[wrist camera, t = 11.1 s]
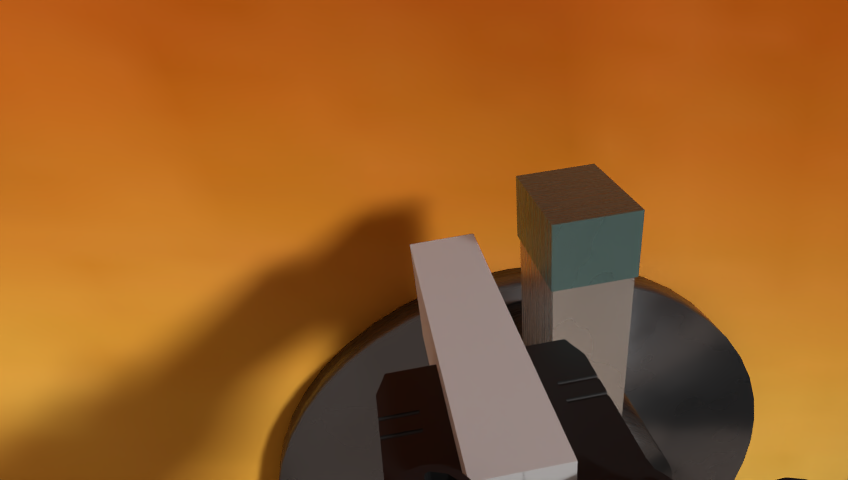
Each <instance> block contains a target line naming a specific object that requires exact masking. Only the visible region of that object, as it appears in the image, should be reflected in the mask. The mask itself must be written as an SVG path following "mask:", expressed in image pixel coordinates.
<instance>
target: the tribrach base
mask: <svg viewBox="0 0 848 480" xmlns="http://www.w3.org/2000/svg"><path fill="white" fill-rule="evenodd" d="M491 274H492V276H493V278H494V280H495V282H496V284H497V287H498V289H499V291H500V293H501V295H502V298H503V300H504V302H505V304H506V305H507V304H510V303H513V302H517V301H521V300H522V294H521V268H514V269H507V270H503V271H499V272H494V273H491ZM424 366H430V365H429V361H428V356H427V352H426V347H425V343H424V339H423V333H422V326H421V319H420V312H419V305H418V299H416V300H414V301H412V302H410V303H408V304H405V305H404V306H402V307H400V308H399V309H397V310H395V311H394V312H392V313H391V314H389V315H387V316H386V317H384V318H382V319H381V320H379V321H377V322H376V323H374V324H373V325H371V326H370V327H369V328H368V329H366V330H365V331H364V332H363V333H361V334H360V335H359V336H357V337H356V338H355V339H354V340H352V341H351V342H350V343H349V344H347V345H346V346H345V347H344V348H343V349H342V350H341V351H340V352H339V353H338V354H337V355H336V356H335V357H334V358H333V359H332V360H331V361H330V362H329V363H328V364H327V365H326V366H325V367H324V368H323V370H322V371H321V372H320V374H319V375H318V376H317V378H316V379H315V380H314V382H313V383H312V384H311V386H310V387H309V388H308V390H307V391H306V392H305V394H304V396H303V398H302V400H301V402H300V403H299V405H298V407H297V409H296V411H295V413H294V414H293V416H292V419H291V422H290V425H289V428H288V431H287V433H286V436H285V439H284V444H283V450H282V457H281V463H280V474H279V480H384V474H383V464H382V454H381V443H380V433H379V423H378V422H379V421H378V412H377V402H376V394H377V391H378V389H379V386H380V384H381V382H382V379H383V377H384V374H386V373H392V372H397V371H402V370H408V369H413V368H419V367H424ZM624 393H625V394H626V396H627V397H628V399H629V401H630V402H631V404H632V405H633V407H634V409H635V410H636V412H637V413H638V415H639V417H640V418H641V420H642V421H643V423H644V424H645V426H646V428H647V429H648V431H649V432H650V434H651V436H652V437H653V439H654V440H655V442H656V444H657V445H658V447H659V448H660V450H661V452H662V453H663V455H664V456H665V458H666V460H667V461H668V463H669V465H670V467H671V470H672V479H673V480H734V479H735V477H736V475H737V473H738V471H739V469H740V467H741V465H742V463H743V461H744V458H745V455H746V452H747V449H748V446H749V443H750V440H751V434H752V428H753V422H754V397H753V392H752V387H751V383H750V378H749V375H748V373H747V371H746V368H745V366H744V364H743V362H742V359H741V357H740V356H739V354H738V353H737V351H736V350H735V349H734V347H733V346H732V344H731V343H730V342H729V340H728V339H727V338H726V337H725V336H724V335H723V334H722V332H721V331H720V330H719V329H718V328H717V327H716V326H715V325H714V324H713V323H712V322H711V321H710V320H709V319H708V318H707V317H706V316H705V315H704V314H703V313H702V312H701V311H700V310H698V309H697V308H696V307H695V306H694V305H693V304H692V303H691V302H689V301H688V300H686V299H685V298H683V297H682V296H680V295H679V294H677V293H675V292H674V291H672V290H671V289H669V288H667V287H665V286H662V285H660V284H658V283H655V282H653V281H651V280H648V279H646V278H644V277H641V276H638V277H635V280H634V291H633V302H632V312H631V323H630V334H629V345H628V356H627V367H626V377H625V388H624Z"/></svg>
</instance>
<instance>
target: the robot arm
mask: <svg viewBox="0 0 848 480" xmlns="http://www.w3.org/2000/svg"><path fill="white" fill-rule="evenodd" d="M410 249H411V256H412V263H413V270H414V277H415V284H416V291H417V298H418V305H419V312H420V319H421V326H422V333H423V339H424V343H425V347H426V352H427V356H428V361H429V365H430V366H424V367H419V368H413V369H408V370H402V371H397V372H392V373H386V374H384V377H383V379H382V382H381V384H380V386H379V389H378V391H377V394H376V402H377V412H378V421H379V422H378V423H379V433H380V443H381V454H382V464H383V474H384V480H673V479H671V478H670V477H668V476H666V475H665V474H663V473H661V472H660V471H658V470H656V469H654V468H653V466H652V465H651V464H650V462H649V461H648V460H647V458H646V457H645V455H644V453H643V452H642V450H641V448H640V447H639V445H638V443H637V441H636V440H635V438H634V436H633V435H632V433H631V431H630V430H629V428H628V426H627V425H626V423H625V421H624V419H623V418H622V416H621V414H620V413H619V411H618V409H617V408H616V406H615V404H614V402H613V401H612V399H611V397H610V396H608V395H607V391H606V389H605V387H604V386H603V384H602V382H601V380H600V379H598V377H597V374H596V372H595V370H594V369H593V367H592V365H591V363H590V362H589V360H588V358H587V357H586V355H585V354H584V353H583V352H581V351H580V350H579V349H577V348H576V347H575V346H573V345H572V344H571V343H569V342H568V341H567V340H565V339H562V340H556V341H551V342H545V343H540V344H534V345H529V346H525V345H524V343H523V341H522V339H521V337H520V335H519V332H518V330H517V328H516V326H515V324H514V321H513V319H512V317H511V315H510V313H509V311H508V308H507V306H506V304H505V302H504V300H503V298H502V295H501V293H500V291H499V289H498V287H497V284H496V282H495V280H494V278H493V276H492V274H491V271H490V269H489V267H488V265H487V263H486V261H485V258H484V256H483V254H482V252H481V250H480V247H479V245H478V243H477V241H476V239H475V237H474V234H469V235H463V236H457V237H451V238H445V239H439V240H433V241H427V242H422V243H416V244H410ZM777 480H806V479H796V478H781V479H777Z"/></svg>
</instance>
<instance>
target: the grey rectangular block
mask: <svg viewBox="0 0 848 480" xmlns="http://www.w3.org/2000/svg"><path fill="white" fill-rule="evenodd" d="M516 196H517V233H518V237H519V239H520V252H521V294H522V300H521V301H517V302H513V303H510V304H507V305H506V306H507V308H508V311H509V313H510V315H511V317H512V319H513V321H514V324H515V326H516V328H517V330H518V332H519V335H520V337H521V339H522V341H523V343H524V345H525V346H529V345H534V344H540V343H545V342H551V341H556V340H562V339H565V340H567V341H568V342H569V343H571V344H572V345H573V346H575V347H576V348H577V349H579V350H580V351H581V352H583V353H584V354H585V355H586V357H587V358H588V360H589V362H590V363H591V365H592V367H593V369H594V370H595V372H596V374H597V377H598V379H600V380H601V382H602V384H603V386H604V387H605V389H606V391H607V395H608V396H610V397H611V399H612V401H613V402H614V404H615V406H616V408H617V409H618V411H619V413H620V414H621V416H622V418H623V419H624V421H625V423H626V425H627V426H628V428H629V430H630V431H631V433H632V435H633V436H634V438H635V440H636V441H637V443H638V445H639V447H640V448H641V450H642V452H643V453H644V455H645V457H646V458H647V460H648V461H649V462H650V464H651V465H652V466H653V468H654V469H656V470H658V471H660V472H661V473H663V474H665V475H666V476H668V477H670V478H671V479H672V470H671V467H670V465H669V463H668V461H667V460H666V458H665V456H664V455H663V453H662V452H661V450H660V448H659V447H658V445H657V444H656V442H655V440H654V439H653V437H652V436H651V434H650V432H649V431H648V429H647V428H646V426H645V424H644V423H643V421H642V420H641V418H640V417H639V415H638V413H637V412H636V410H635V409H634V407H633V405H632V404H631V402H630V401H629V399H628V397H627V396H626V394H625V393H624V388H625V377H626V367H627V356H628V345H629V334H630V323H631V312H632V302H633V291H634V280H635V277H638V274H639V263H640V253H641V242H642V232H643V221H644V211H645V210H644V209H643V208H642V207H641V206H640V205H639V204H638V203H637V202H635V201H634V200H633V199H632V198H631V197H630V196H629V195H628V194H627V193H626V192H625V191H623V190H622V189H621V188H620V187H619V186H618V185H617V184H616V183H615V182H614V181H613V180H611V179H610V178H609V177H608V176H607V175H606V174H605V173H604V172H603V171H602V170H601V169H599V168H598V167H597V166H596V165H595V164H590V165H584V166H577V167H571V168H565V169H558V170H552V171H545V172H539V173H533V174H526V175H520V176H516Z"/></svg>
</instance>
